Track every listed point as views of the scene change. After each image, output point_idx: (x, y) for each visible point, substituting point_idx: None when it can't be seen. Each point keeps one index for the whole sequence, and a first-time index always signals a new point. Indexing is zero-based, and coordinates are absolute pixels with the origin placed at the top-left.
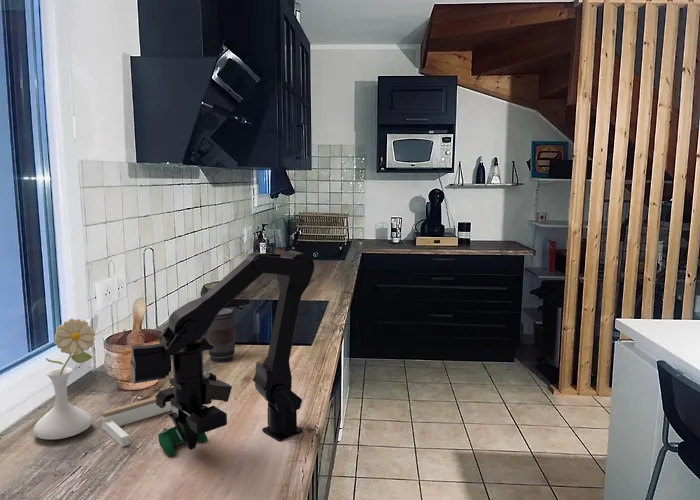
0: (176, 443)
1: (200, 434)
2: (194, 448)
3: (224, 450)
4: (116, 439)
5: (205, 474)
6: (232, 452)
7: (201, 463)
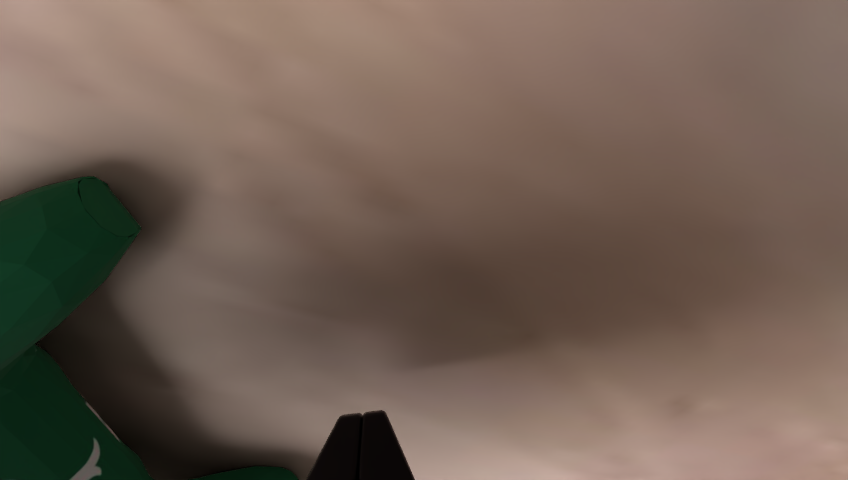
0: (139, 474)
1: (61, 304)
2: (385, 412)
3: (508, 88)
4: None
5: (752, 379)
6: (636, 20)
7: (576, 357)
